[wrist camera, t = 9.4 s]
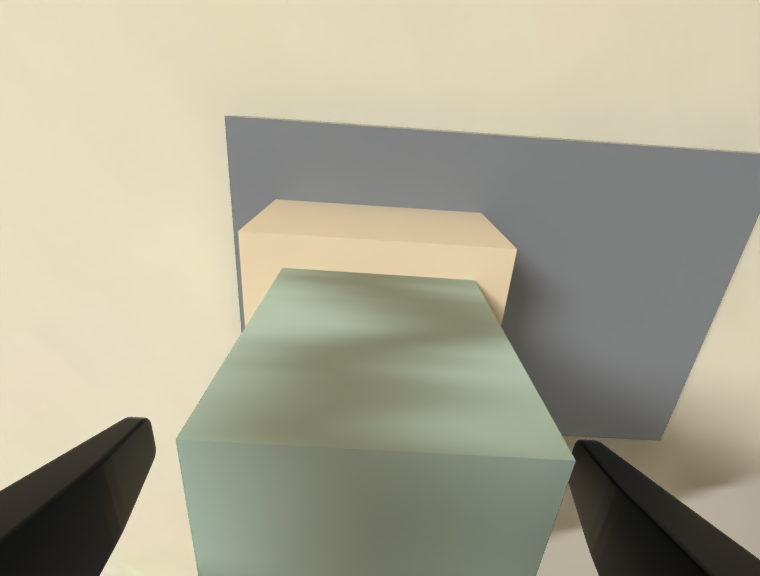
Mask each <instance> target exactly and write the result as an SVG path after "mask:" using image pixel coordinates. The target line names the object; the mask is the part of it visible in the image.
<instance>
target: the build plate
mask: <svg viewBox="0 0 760 576" xmlns="http://www.w3.org/2000/svg"><path fill="white" fill-rule="evenodd" d="M225 126H226V139H227V152H228V165H229V178H230V191H231V203H232V216H233V229H234V242H235V255H236V268H237V280H238V293H239V306H240V319H241V332H243V330H244V329H245V327H246V325H247V324H248V322H249V321H250V319H251V317H252V316H253V314H254V313H255V311H256V309H257V308H258V306H259V305H260V303H261V301H262V300H263V298H264V297H265V295H266V293H267V292H268V290H269V289H270V287H271V285H272V284H273V282H274V280H275V279H276V277H277V276H278V274H279V272H280V271H281V269H282V268H294V269H310V270H325V271H341V272H356V273H371V274H387V275H402V276H418V277H433V278H448V279H464V280H475V281H476V283H477V285H478V286H479V288H480V290H481V292H482V294H483V295H484V297H485V299H486V301H487V303H488V304H489V306H490V308H491V310H492V312H493V313H494V315H495V317H496V319H497V320H498V322H499V324H500V326H501V328H502V329H503V331H504V333H505V335H506V337H507V338H508V340H509V342H510V344H511V346H512V347H513V349H514V351H515V353H516V354H517V356H518V358H519V360H520V362H521V363H522V365H523V367H524V369H525V371H526V372H527V374H528V376H529V378H530V380H531V381H532V383H533V385H534V387H535V389H536V390H537V392H538V394H539V396H540V397H541V399H542V401H543V403H544V405H545V406H546V408H547V410H548V412H549V414H550V415H551V417H552V419H553V421H554V423H555V424H556V426H557V428H558V430H559V431H560V433H561V435H565V436H584V437H603V438H623V439H642V440H660V439H661V437H662V435H663V433H664V430H665V428H666V426H667V423H668V421H669V419H670V417H671V414H672V412H673V410H674V407H675V405H676V403H677V401H678V398H679V396H680V394H681V391H682V389H683V387H684V385H685V382H686V380H687V378H688V375H689V373H690V371H691V369H692V366H693V364H694V362H695V360H696V357H697V355H698V353H699V350H700V348H701V346H702V344H703V341H704V339H705V337H706V334H707V332H708V330H709V328H710V325H711V323H712V321H713V318H714V316H715V314H716V312H717V309H718V307H719V305H720V302H721V300H722V298H723V296H724V293H725V291H726V289H727V287H728V284H729V282H730V280H731V277H732V275H733V273H734V271H735V268H736V266H737V264H738V261H739V259H740V257H741V255H742V252H743V250H744V248H745V245H746V243H747V241H748V239H749V236H750V234H751V232H752V229H753V227H754V225H755V223H756V220H757V218H758V216H759V214H760V153H754V152H740V151H726V150H712V149H698V148H684V147H670V146H656V145H641V144H627V143H613V142H599V141H585V140H571V139H557V138H543V137H529V136H515V135H501V134H487V133H472V132H458V131H444V130H430V129H416V128H402V127H388V126H374V125H360V124H346V123H332V122H317V121H303V120H289V119H275V118H261V117H247V116H225Z"/></svg>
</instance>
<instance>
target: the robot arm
mask: <svg viewBox="0 0 760 576" xmlns="http://www.w3.org/2000/svg"><path fill="white" fill-rule="evenodd" d="M155 453H156V446H155V441H154V436H153V431H152V426H151V422H150V420H149V419H147V418H142V417H127V418H125V419H123V420H121V421H119V422H118V423H116V424H114V425H113V426H111V427H109V428H107V429H106V430H104V431H102V432H101V433H99V434H97V435H95V436H94V437H92V438H90V439H89V440H87V441H85V442H83V443H82V444H80V445H78V446H77V447H75V448H73V449H71V450H70V451H68V452H66V453H65V454H63V455H61V456H59V457H58V458H56V459H54V460H53V461H51V462H49V463H47V464H46V465H44V466H42V467H41V468H39V469H37V470H35V471H34V472H32V473H30V474H29V475H27V476H25V477H23V478H22V479H20V480H18V481H17V482H15V483H13V484H11V485H10V486H8V487H6V488H5V489H3V490H1V491H0V576H100V574H101V572H102V570H103V568H104V566H105V565H106V563H107V561H108V559H109V557H110V555H111V554H112V552H113V550H114V548H115V546H116V544H117V542H118V540H119V538H120V537H121V535H122V533H123V530H124V528H125V526H126V524H127V522H128V519H129V517H130V515H131V512H132V510H133V508H134V505H135V503H136V501H137V498H138V496H139V494H140V491H141V489H142V487H143V484H144V482H145V479H146V477H147V475H148V472H149V470H150V468H151V465H152V463H153V461H154V458H155ZM572 455H573V457H574V458H575V460H576V461H575V464H574V467H573V470H572V473H571V476H570V479H569V482H568V483H569V486H570V489H571V492H572V496H573V499H574V502H575V506H576V509H577V512H578V516H579V519H580V522H581V525H582V529H583V532H584V535H585V539H586V542H587V545H588V548H589V550H590V553H591V556H592V559H593V562H594V564H595V567H596V569H597V572H598V574H599V576H760V560H759V559H758V558H756V557H755V556H754V555H753V554H751V553H750V552H749V551H747V550H746V549H744V548H743V547H742V546H740V545H739V544H738V543H736V542H735V541H733V540H732V539H731V538H729V537H728V536H727V535H725V534H724V533H723V532H721V531H720V530H719V529H717V528H716V527H714V526H713V525H712V524H710V523H709V522H708V521H706V520H705V519H703V518H702V517H701V516H699V515H698V514H697V513H695V512H694V511H693V510H691V509H690V508H689V507H687V506H686V505H685V504H683V503H682V502H681V501H679V500H678V499H676V498H675V497H674V496H672V495H671V494H670V493H668V492H667V491H666V490H664V489H663V488H662V487H660V486H659V485H657V484H656V483H655V482H653V481H652V480H651V479H649V478H648V477H647V476H645V475H644V474H642V473H641V472H640V471H638V470H637V469H636V468H634V467H633V466H632V465H630V464H629V463H628V462H626V461H625V460H623V459H622V458H621V457H619V456H618V455H617V454H615V453H614V452H613V451H611V450H610V449H609V448H607V447H606V446H604V445H603V444H602V443H600V442H598V441H595V440H578V441H577V442H576V443H575V445H574V448H573V451H572Z"/></svg>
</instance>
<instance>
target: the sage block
mask: <svg viewBox="0 0 760 576" xmlns="http://www.w3.org/2000/svg"><path fill="white" fill-rule="evenodd" d="M176 444H177V450H178V456H179V462H180V468H181V474H182V480H183V486H184V492H185V498H186V504H187V510H188V516H189V522H190V528H191V534H192V540H193V546H194V552H195V558H196V564H197V570H198V576H536V574H537V571H538V569H539V565H540V563H541V560H542V557H543V554H544V551H545V548H546V545H547V542H548V540H549V537H550V534H551V531H552V528H553V525H554V522H555V519H556V516H557V514H558V511H559V508H560V505H561V502H562V499H563V496H564V493H565V490H566V488H567V485H568V482H569V479H570V476H571V473H572V470H573V467H574V464H575V461H576V460H575V458H574V457H573V455H572V453H571V451H570V449H569V448H568V446H567V444H566V442H565V440H564V439H563V437H562V435H561V433H560V431H559V430H558V428H557V426H556V424H555V423H554V421H553V419H552V417H551V415H550V414H549V412H548V410H547V408H546V406H545V405H544V403H543V401H542V399H541V397H540V396H539V394H538V392H537V390H536V389H535V387H534V385H533V383H532V381H531V380H530V378H529V376H528V374H527V372H526V371H525V369H524V367H523V365H522V363H521V362H520V360H519V358H518V356H517V354H516V353H515V351H514V349H513V347H512V346H511V344H510V342H509V340H508V338H507V337H506V335H505V333H504V331H503V329H502V328H501V326H500V324H499V322H498V320H497V319H496V317H495V315H494V313H493V312H492V310H491V308H490V306H489V304H488V303H487V301H486V299H485V297H484V295H483V294H482V292H481V290H480V288H479V286H478V285H477V283H476V281H475V280H464V279H448V278H433V277H418V276H402V275H387V274H371V273H356V272H341V271H325V270H310V269H294V268H282V269H281V271H280V272H279V274H278V276H277V277H276V279H275V280H274V282H273V284H272V285H271V287H270V289H269V290H268V292H267V293H266V295H265V297H264V298H263V300H262V301H261V303H260V305H259V306H258V308H257V309H256V311H255V313H254V314H253V316H252V317H251V319H250V321H249V322H248V324H247V325H246V327H245V329H244V330H243V332H242V334H241V335H240V337H239V338H238V340H237V342H236V343H235V345H234V346H233V348H232V350H231V351H230V353H229V354H228V356H227V358H226V359H225V361H224V362H223V364H222V366H221V367H220V369H219V371H218V372H217V374H216V375H215V377H214V379H213V380H212V382H211V383H210V385H209V387H208V388H207V390H206V391H205V393H204V395H203V396H202V398H201V399H200V401H199V403H198V404H197V406H196V408H195V409H194V411H193V412H192V414H191V416H190V417H189V419H188V420H187V422H186V424H185V425H184V427H183V428H182V430H181V432H180V433H179V435H178V436H177V438H176Z"/></svg>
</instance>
